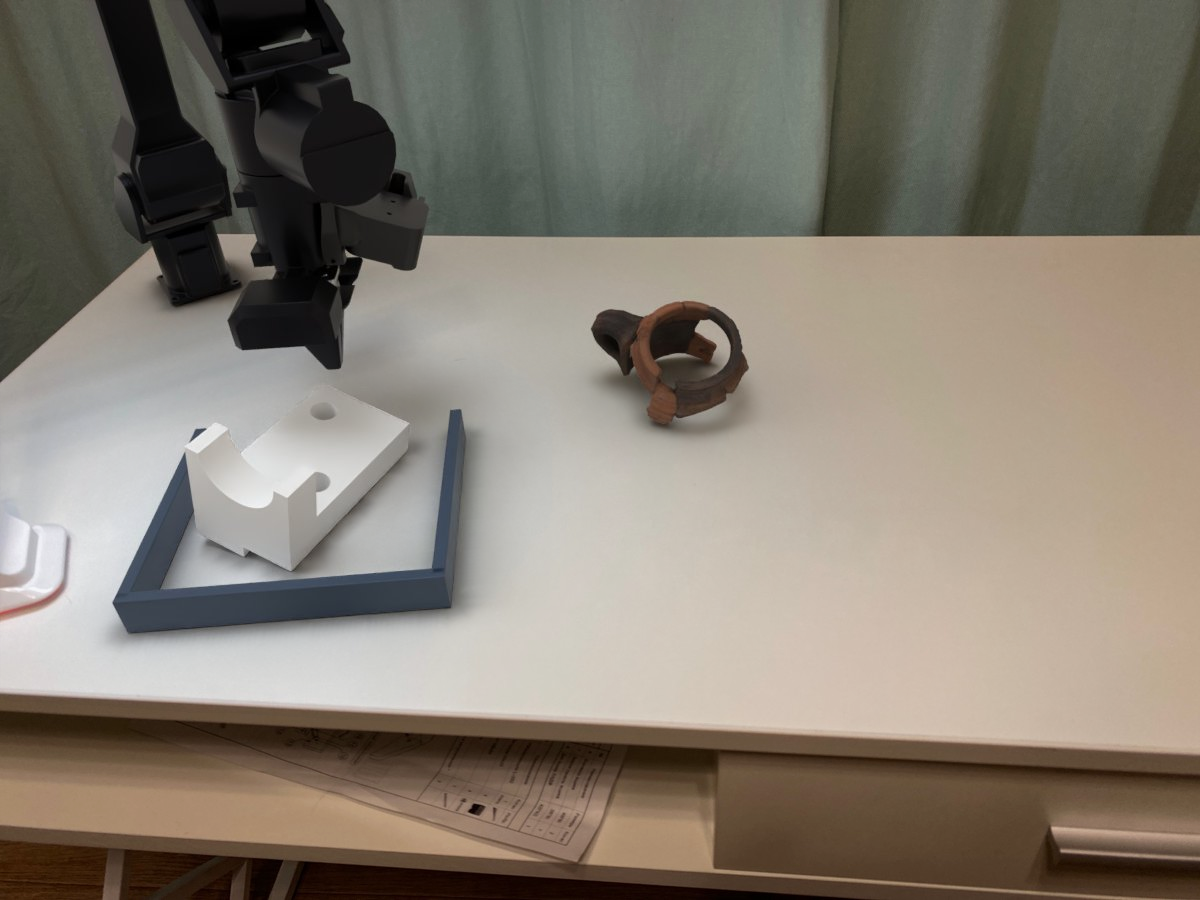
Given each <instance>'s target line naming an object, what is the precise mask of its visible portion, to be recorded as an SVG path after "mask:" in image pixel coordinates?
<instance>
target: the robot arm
mask: <svg viewBox="0 0 1200 900" xmlns="http://www.w3.org/2000/svg"><path fill="white" fill-rule="evenodd" d="M83 2H84V6H85V8H86V9H85V10H86V12H87V15H88V18H89V21H90V24H91V27H92V30H93V33H94V36H95V39H96V42H97V46H98V49H99V51H100V54H101V58H102V61H103V65H104V68H105V71H106V73H107V77H108V79H109V82H110V86H111V89H112V92H113V94H114V98H115V101H116V104H117V107H118V110H119V114H120V115H119V116H120V117H119V120H118V124H117V126H116V130H115V132H114V135H113V138H112V142H111V146H110V152H111V155H112V158H113V161H114V162H113V163H114V165H115V168H116V171H117V175H114V176H113V189H114V190H113V191H114V192H113V193H114V209H115V211H116V213H117V215H118V218H119V220H120V222H121V224H122V226H123V229H124V230H125V231H126V232H127V233H128V234H130V236H131V237H133V238H134V239H135V240H136V241H137V242H139V243H140V244H141V245H145V244H148V243H149V242H150V245H151V247H152V249H153V252H154V255H155V258H156V261H157V263H158V266H159V269H160V271H161V274H159V275H157V276H156V280H157V283H158V285H159V287H160V288H161V290H162V292H163V293H164V295H165V297H166V299H167V300H168V302H169V303H170V305H171V306H178V305H182V304H185V303H189V302H192V301H195V300H198V299H199V300H200V299H203V298H205V297H210V296H212V295H216V294H219V293H223V292H227V291H230V290H234V289H237V288H240V287H241V286H242V285H243V283H242V280H241V278H240V277H239V276H238V274H237V273H236V272H235V270H234V269H233V268H232V266H231V265H230V264H229V263H228V261H227V259H226V258H225V253H224V251H223V248H222V245H221V242H220V238H219V235H218V232H217V229H216V225H215V222H214V221H217V220H221V219H224V218H230V217H233V210H232V208H233V203H232V197H233V199H234V204H235V206H236V209H247V210H248V214H249V217H250V221H251V225H252V229H253V232H254V235H255V238H256V242H255V243H254V245H253V247H252V249H251V250H250V252H249V254H250V258H251V261H252V265H253V267H254V268H266V267H267V268H268V267H274V269H275V272H274V275H273V277H272V278H267V279H253V280H250V281H249V283H248V284H247V285H246V287H245V288H244V289H243V290H242V292H241V293H240V295H239V297H238V299H237V300H236V303H235V304H234V306H233V308H232V309H231V310H232V311H231V312H230V315H229V316H228V318H227V320H226V322H227V324H228V327H229V331H230V333H231V334H230V335H231V336H232V339H233V342H234V346H235V347H236V348H237V349H239V350H241V351H257V350H271V349H284V348H285V349H286V348H300V347H301V348H302V347H305V348H306V350H307V351H308V352H309V353H310V354H311V355H312V356H313V357H314V358H315V359H316V360H317V361H318V362H319V363H320V364H321V365H322V366H323V367H324V368H325V369H326V370H328V371H330V370H331V371H333V370H340V369H341V368H342V366H343V363H344V339H345V338H344V336H345V335H344V331H345V310H346V309H347V308H348V307H349V305H350V303H351V300H352V298H353V294H354V291H355V288H356V284H354V283H355V282H356V281H357V280H358V278H359V275H360V272H361V269H362V265H363V262H364V259H365V260H370V261H374V262H378V263H382V264H385V265H390V266H391V267H392V268H393V269H395V270H399V271H402V272H405V271H406V272H411V271H413V270H415V269H416V268H417V267H418V261H419V257H420V252H421V247H422V243H423V238H424V234H425V230H426V224H427V220H428V215H429V211H430V207H429V205H428V204H427V203H426V197H425V196H423V195H419V197H418V193H417V189H416V186H415V183H414V179H413V176H412V174H411V172H408V171H405V170H402V169H397V168H395V165H396V159H397V142H396V138H395V134H394V132H393V131H392V130H391V128H390V126H389V124H388V123H387V120H386V119H385V117H383V115H381V113H380V112H379V111H378V110H376V109H375V108H373V107H372V106H371V105H369V104H368V103H365V102H362V101H360V100H358V99H355V98H354V94H353V89H352V84H351V81H350V79H349V77H348V76H345V75H343V74H340V73H337V72H336V73H330V71H329V70H330V69H333V68H338V67H342V66H344V65H345V66H346V65H350V64H351V61H352V60H351V59H352V58H351V55H350V52H349V51H348V49H347V46H346V44H345V42H344V37H345V29H344V27H343V25H342V24H341V22H340V21H339V19H338V17H337V16H336V14H335V12H334V10H333V8H332V7H331V6H330V4H329V2H328V1H327V0H163V3H164V6H165V9H166V12H167V14H168V17H169V19H170V21H171V24H172V26H173V27H174V29H175V31H176V33H177V34H178V36H179V38H181V40H182V42H183V43H184V45H185V46H186V48H187V49H188V51H189V52H190V54H191V55H192V56H193V58H194V59H195V61H196V63H197V64H198V65H199V67H200V68H201V70H202V72H203V73H204V75H205V76H206V77H207V79H208V80H209V82H210V83H211V85H212V86H213V90H214V95H215V98H216V103H217V105H218V110H219V113H220V116H221V120H222V123H223V127H224V130H225V134H226V137H227V140H228V144H229V148H230V151H231V155H232V158H233V162H234V165H235V168H236V173H237V176H238V179H239V182H238V183H237V185H236V187H235V188H234V190H233V191H232V196H231V191H230V185H229V179H228V169H227V166H226V165H225V163H223V162H221V159H220V158H219V157H218V155H217V154H216V152H215V151H216V150H215V148H214V146H213V145H212V144H211V143H210V142H209V140H207V139H206V138H205V137H204V135H202V133H200V132H199V131H198V130H197V128H196V127H194V126H193V125H192V124H191V123H190V122H189V121H188V120H187V119H186V118H185V117H184V115H183V113H182V110H181V107H180V103H179V99H178V96H177V92H176V88H175V86H174V82H173V78H172V74H171V72H170V67H169V63H168V61H167V57H166V53H165V49H164V46H163V43H162V39H161V34H160V31H159V27H158V24H157V22H156V17H155V14H154V10H153V6H152V3H151V0H83ZM306 32H307V34H308V35H309V36H310V39H305V40H301V41H297V42H293V43H289V44H284V45H279V46H275V47H271V48H267V49H262V48H264V47H269V46H272V45H276V44H281V43H285V42H289V41H295V40H299V39H302V37H303V36H304V35H305V33H306ZM347 253H349V254H350V255H352V256H347Z"/></svg>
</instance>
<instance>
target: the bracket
mask: <svg viewBox="0 0 1200 900" xmlns="http://www.w3.org/2000/svg"><path fill="white" fill-rule="evenodd" d="M410 425H411V424H410V422H407V421H405V420H404V419H401V418H399V417H397V416H394V414H393V415H392V414H390V413H388V412H386V411H384V410H382V409H381V408H378V407H376V406H373V405H371V404H369V403H367V402H364V401H363V400H360V399H358V398H356V397H354V396H352V395H350V394H348V393H345V392H343V391H341V390H339V389H337V388H335V387H332V386H331V385H328V384H326V383H324V382H322V383H321V384H320V385H319V386H318V387H317V388H315V389H314V390H313V391H312V392H310V393H309V394H308V395H307V396H306V397H305V398H304V399H302V400H301V401H300V402H299V403H298V404H297V405H295V406H294V407H292V409H290V410H289V411H288V412H287V413H286V414H284V415H283V416H282V417H281V418H280V419H279V420H278V421H276V422H275V423H274V424H273V425H271V426H270V427H269V428H268V429H267V430H266V431H264V433H262V434H261V435H259V436H258V437H257V439H255V440H254V441H252V442H251V444H249V445H248V446H247V447H246V448H245V449H243V450H242V451H241V452H239V450H238V449H237V447H236V445H235V444H234V442H233V439H232V437H231V434H230V428H229V427H227V426H225V425H223V424H220V423H218V422H217V421H216V422H214V423H212V424H211V425H210V426H209V427H208V428H206V430H205V431H204V432H203V433H201V434H200V435H199V436H198V437H196V438H195V439H194V440H192V441H191V442H190V441H189V442H190V443H189V442H188V443H187V444H186V445H185V446H183V447H184V452H185V454H186V461H187V468H188V474H189V481H190V488H191V494H192V501H193V508H194V510H193V514H194V521H195V527H196V534H198V535H200V536H203V537H204V538H206V539H208V540H211V542H214V543H216V544H218V545H219V546H222V547H223V548H225V549H228V550H229V551H231V552H233V553H235V554H237V555H239V556H241V557H243V558H245V557H246V555H248V554H249V553H250V552H251V553H253V554H255V555H258V556H259V557H261V558H263V559H265V560H267V561H269V562H270V563H273V564H275V565H277V566H279V567H280V568H283V569H285V570H286V571H289V572H293V570H294V569H295V568H297V566H298V565H299V564H300V563H301V562H302V561H303V560H304V559H305V558H306V557H307V556H308V555H309V554H310V553H311V552H312V551H313V550H314V548H316V546H318V544H319V543H320V542H321V541H322V540H323V539H324V538H325V537H326V536H327V535H328V534H329V533H330V532H331V531H332V530H333V529H334V528H335V527H336V526H337V525H338V524H339V523H340V522H341V520H342V519H344V517H345V516H346V515H347V514H348V513H349V512H351V510H352V509H353V508H354V507H355V506H356V505H357V504H358V503H359V502H360V501H361V500H362V499H363V498H364V497H365V496H366V495H367V494H368V492H369V491H370V490H371V489H372V488H373V487H374V486H375V485H376V484H377V483H378V482H379V481H380V480H381V479H382V478H383V477H384V476H385V475H386V473H388V471H390V470H391V468H393V467H394V465H396V463H397V462H398V461H399V460H400V459H401V458H402V457H403V456H404V455H405V454H406V453H407V452H408V450H409V437H410Z"/></svg>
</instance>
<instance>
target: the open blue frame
mask: <svg viewBox="0 0 1200 900" xmlns="http://www.w3.org/2000/svg"><path fill="white" fill-rule="evenodd" d="M206 429H207V428H206V427H204V428H203V427H202V428H195V429H194V431H193V434H192V436H191V437H190V439H189V442H188V444H189V443H190V442H191V441H192V440H194V439H195V438H196V437H198V436H199V435H200V434H201V433H203V432H204V431H205V430H206ZM466 438H467V436H466V429H465V424H464V418H463V412H462V408H455V409H454V408H453V409H450V410H449V417H448V424H447V434H446V441H445V442H446V443H445V452H444V458H443V459H444V460H443V468H442V477H441V486H440V495H439V501H438V502H439V504H438V513H437V520H436V521H437V523H436V531H435V539H434V546H433V556H432V563H431V564H432V565H431V568H420V569H409V570H407V569H406V570H395V571H383V572H369V573H358V574H357V573H356V574H343V575H332V576H330V575H329V576H320V577H306V578H296V579H295V578H294V579H281V580H279V579H278V580H271V581H270V580H267V581H256V582H255V581H254V582H243V583H229V584H228V583H227V584H218V585H217V584H216V585H205V586H192V587H191V586H190V587H180V588H179V587H178V588H166V589H160V588H161V586H162V583H163V581H164V579H165V576H166V574H167V572H168V570H169V567H170V565H171V563H172V560H173V558H174V556H175V553H176V551H177V549H178V547H179V544H180V543H181V539H182V537H183V535H184V533H185V531H186V528H187V525H188V523H189V521H190V518H191V516H192V514H193V513H194V508H193V501H192V494H191V488H190V481H189V474H188V468H187V461H186V454H185V451H184V453H183V454H182V456H181V459H180V460H179V463H178V465H177V466H176V469H175V471H174V473H173V475H172V477H171V480H170V482H169V484H168V485H167V487H166V490H165V492H164V494H163V496H162V498H161V500H160V501H159V504H158V506H157V509H156V511H155V513H154V515H153V517H152V519H151V522H150V523H149V525H148V527H147V530H146V532H145V533H144V536H143V538H142V539H141V542H140V543H139V546H138V548H137V550H136V552H135V554H134V556H133V559H132V561H131V562H130V565H129V567H128V568H127V571H126V573H125V575H124V578H123V579H122V581H121V583H120V586H119V587H118V590H117V592H116V594H115V596H114V598H113V600H112V602H111V603H112V607H113V608H114V610H115V612H116V614H117V615H118V617H119V619H120V621H121V623H122V626H123V627H124V629H125V631H126V633H128V634H129V633H141V632H142V633H143V632H154V631H156V632H157V631H167V630H168V631H169V630H180V629H182V630H183V629H193V628H205V627H207V628H208V627H218V626H230V625H242V624H255V623H268V622H281V621H294V620H306V619H318V618H331V617H344V616H345V617H346V616H357V615H368V614H380V613H382V614H383V613H395V612H406V611H407V612H408V611H419V610H433V609H444V608H445V609H446V608H451V607H452V600H453V599H452V597H453V588H454V576H455V575H454V574H455V566H456V565H455V564H456V554H457V542H458V530H459V518H460V507H461V497H462V484H463V472H464V462H465V451H466V450H465V449H466Z"/></svg>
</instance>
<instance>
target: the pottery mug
mask: <svg viewBox="0 0 1200 900" xmlns="http://www.w3.org/2000/svg"><path fill="white" fill-rule="evenodd" d="M701 321H711V322H713V323H714V324H715V325H717V326H718V328H720V329H721V330H722V331H723V333H724V334H725V335H726V338H727V341H728V343H729V345H730V347H729V348H730V349H729V350H730V351H729V357H728V360H727V362H726V364H725V365H724V366H723V368H721V369H720V370H719V371H718V372H717V373H715V374H713V375H711V376H709V377H706V378H702V379H698V380H697V379H696V380H688V379H687V380H686V379H680V378H674V385H675V388H674V387H672V386H670V385H668V384H666V383H664V382H663V380H662V379H661V377H662V372H663V369H662V368H661V367H660V366H659V365H658V363H657V362H656V360H658V359H660V358H663V357H668V356H671V355H674V354H685V355H689V356H692V357H693V358H694V357H695V358H697V359H700V360H701V361H703V362H705V363H708V364H709V363H711V362H712V359H713V357H714V353H715V351H716V350H717V347H718V345H717V343H716V342H714V341H713V340H711V339H708V338H707V337H705V336H704V335H702V334H701V333H699V332H697V331H696V328H697V327H698V325H699V324H700V322H701ZM590 332H591V333H592V337H593V339H594V341H595V342H596V344H597V345H598V346H599V347H600V348H601V349H602V350H603V351H604V353H606V354H607V355H608V356H610V357H611V358H612V359H613V360H614V361H615V362H616V363H617V365H618V366H619V368H620V372H621V373H622V375H623V376H624V377H628V376H630V374H631V372H632V370H633V369H635V370H636V373H637V375H638V377H639V379H640V381H641V383H642V385H643V387H645V388H646V390H647V391H648V392H649V393H650V394H651V395H652V397H651V399H650V403H649V405H648V406H647V408H646V415H647V417H648V418H649V419H651V420H653V421H655V422H657V423H659V424H661V425H664V426H665V425H667V424H669V423H670V422H672V421H673V419H674V417H675V418H677V419H684V418H687V417H690V416H694V415H697V414H700V413H702V412H705V411H709V410H710V409H713V408H716V407H717V406H719V405H721V404H723V403H724V402H726V401H727V394H733V393H734V392H735V391H736V389H737V388H738V386H739V385H740V382H741V381H742V378H743V377H744V375H745V374H746V372H748V371H749V369H750V367H749V364H748V360H747V358H746V355H745V354H744V352H743V343H742V337H741V334H740V331H739V329H738V327H737V324H736V322H735V321H734V320H733V319H732V318H730V316H728V314H727V313H725V312H724V311H722V310H721V309H718V308H717V307H716V306H711V305H709V304H707V303H703V302H699V301H694V300H684V301H683V300H682V301H673V302H670V303H667V304H664V305H662V306H660V307H658V308H657V309H655V310H654V311H653V312H651V313H650V314H647V315H645V316H641V315H637V314H633V313H632V312H628V311H627V310H624V309H615V308H609V309H605V310H602V311H601V312H599V313H598V314H597V315H596V316H595V320H594V321H593V323H592V325H591V327H590Z"/></svg>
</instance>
